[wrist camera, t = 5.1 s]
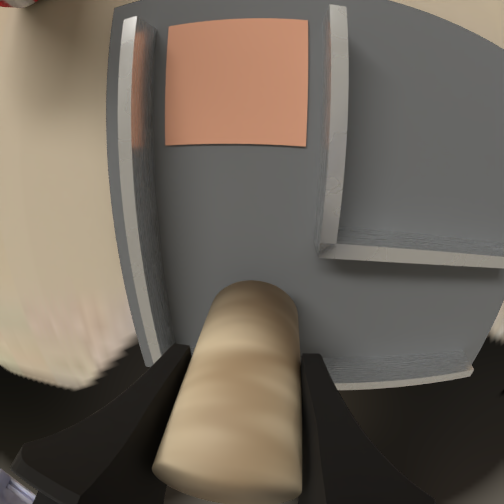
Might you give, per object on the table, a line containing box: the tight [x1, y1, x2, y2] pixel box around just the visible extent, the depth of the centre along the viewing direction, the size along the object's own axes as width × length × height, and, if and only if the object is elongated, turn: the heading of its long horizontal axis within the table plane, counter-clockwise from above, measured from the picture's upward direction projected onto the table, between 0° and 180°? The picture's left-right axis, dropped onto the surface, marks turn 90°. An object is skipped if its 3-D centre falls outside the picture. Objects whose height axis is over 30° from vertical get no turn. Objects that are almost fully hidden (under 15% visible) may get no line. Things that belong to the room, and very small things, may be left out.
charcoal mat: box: [106, 0, 504, 367], centre depth 12 cm, size 23×21×1 cm
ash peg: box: [152, 280, 302, 504], centre depth 9 cm, size 4×4×8 cm
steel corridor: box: [118, 4, 504, 390], centre depth 11 cm, size 19×17×2 cm
